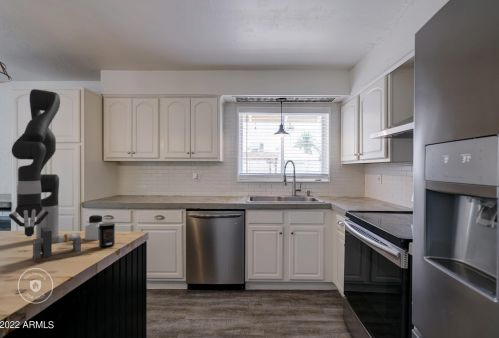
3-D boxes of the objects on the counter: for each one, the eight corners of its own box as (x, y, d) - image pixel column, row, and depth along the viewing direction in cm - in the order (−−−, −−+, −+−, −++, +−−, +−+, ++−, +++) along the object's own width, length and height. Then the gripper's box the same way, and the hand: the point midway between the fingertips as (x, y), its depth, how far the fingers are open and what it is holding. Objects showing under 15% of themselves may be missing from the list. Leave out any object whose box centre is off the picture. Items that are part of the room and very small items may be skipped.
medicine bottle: (98, 240, 145) (98, 216, 145) (84, 240, 145) (84, 216, 145) (105, 236, 152) (106, 214, 152) (92, 236, 152) (92, 214, 152)
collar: (40, 251, 119) (40, 227, 119) (47, 250, 121) (47, 226, 120) (44, 257, 112) (44, 231, 112) (51, 255, 113) (51, 230, 113)
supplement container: (110, 243, 139) (110, 222, 139) (117, 246, 135) (117, 224, 135) (96, 246, 134) (96, 224, 134) (102, 249, 130) (102, 226, 130)
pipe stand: (32, 258, 116) (32, 236, 116) (77, 250, 127) (77, 231, 127) (34, 263, 110) (35, 240, 110) (81, 254, 121) (81, 234, 121)
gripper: (48, 190, 119) (48, 232, 120) (6, 192, 111) (6, 237, 111) (51, 192, 114) (51, 235, 114) (7, 194, 105) (7, 240, 105)
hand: (29, 236), depth 112 cm, fingers closed
